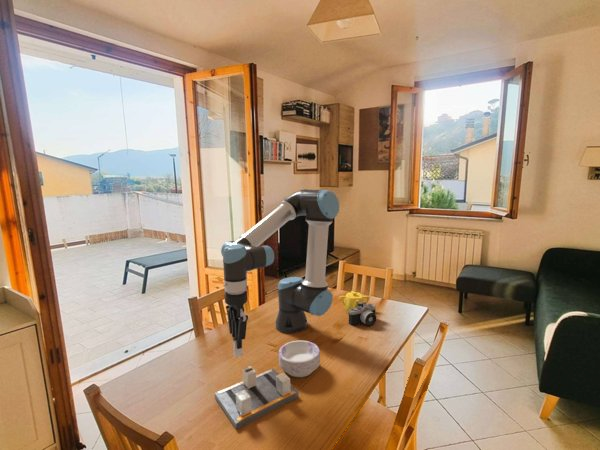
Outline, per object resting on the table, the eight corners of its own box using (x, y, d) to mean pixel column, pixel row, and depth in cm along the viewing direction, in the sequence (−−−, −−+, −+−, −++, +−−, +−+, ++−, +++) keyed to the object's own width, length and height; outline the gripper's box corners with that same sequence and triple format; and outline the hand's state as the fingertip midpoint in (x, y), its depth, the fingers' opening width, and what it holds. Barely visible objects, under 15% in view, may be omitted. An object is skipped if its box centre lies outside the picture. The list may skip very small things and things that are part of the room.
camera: (356, 331, 147) (356, 311, 145) (345, 323, 154) (345, 304, 153) (382, 324, 153) (383, 304, 152) (370, 317, 161) (371, 298, 160)
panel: (215, 398, 104) (213, 378, 103) (273, 373, 117) (272, 354, 115) (236, 429, 91) (234, 406, 90) (298, 397, 104) (298, 377, 103)
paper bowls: (273, 363, 122) (272, 344, 121) (309, 354, 128) (309, 336, 127) (287, 387, 109) (287, 366, 107) (327, 376, 115) (327, 355, 113)
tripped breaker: (242, 382, 108) (242, 368, 107) (250, 379, 110) (250, 365, 109) (248, 388, 105) (247, 374, 104) (256, 385, 107) (255, 370, 106)
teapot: (373, 311, 167) (373, 293, 165) (357, 319, 159) (357, 299, 157) (352, 304, 177) (352, 286, 176) (336, 310, 169) (337, 292, 167)
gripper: (217, 287, 112) (220, 350, 115) (233, 299, 101) (236, 368, 105) (237, 283, 116) (239, 344, 119) (254, 294, 105) (256, 360, 109)
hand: (237, 355), depth 112 cm, fingers closed
